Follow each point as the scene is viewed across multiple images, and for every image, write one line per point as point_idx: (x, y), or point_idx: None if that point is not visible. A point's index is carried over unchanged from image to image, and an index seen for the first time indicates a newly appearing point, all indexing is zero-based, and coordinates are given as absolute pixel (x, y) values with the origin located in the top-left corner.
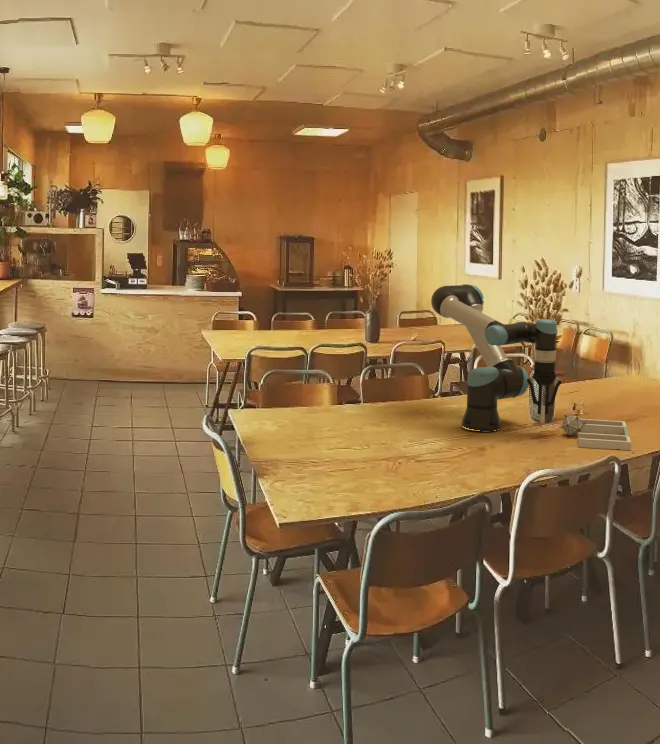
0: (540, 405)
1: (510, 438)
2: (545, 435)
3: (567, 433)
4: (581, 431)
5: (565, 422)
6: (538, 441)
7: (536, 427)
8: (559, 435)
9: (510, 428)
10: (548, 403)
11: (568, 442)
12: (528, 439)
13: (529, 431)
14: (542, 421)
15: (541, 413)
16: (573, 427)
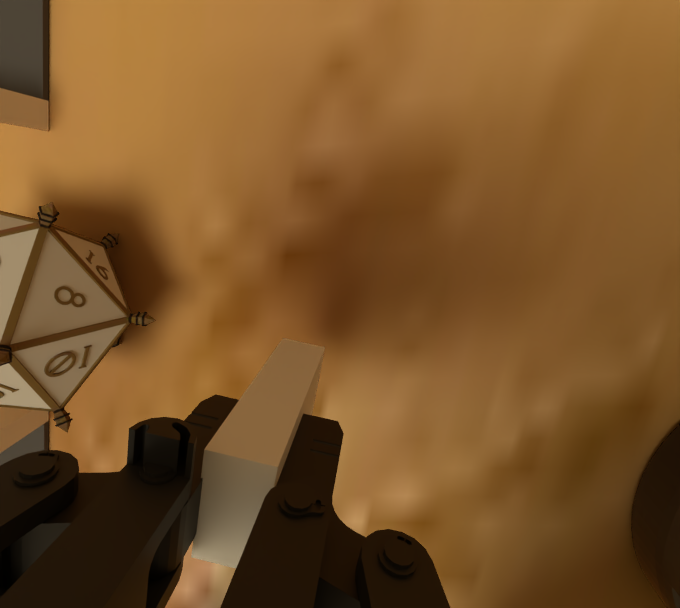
0: (284, 486)
1: (652, 152)
2: (296, 285)
3: (107, 256)
4: None
5: (55, 292)
6: (395, 55)
7: None
8: (183, 290)
9: (546, 495)
10: (110, 501)
11: (126, 46)
12: (477, 127)
13: (407, 407)
14: (299, 348)
15: (294, 395)
16: (4, 214)
